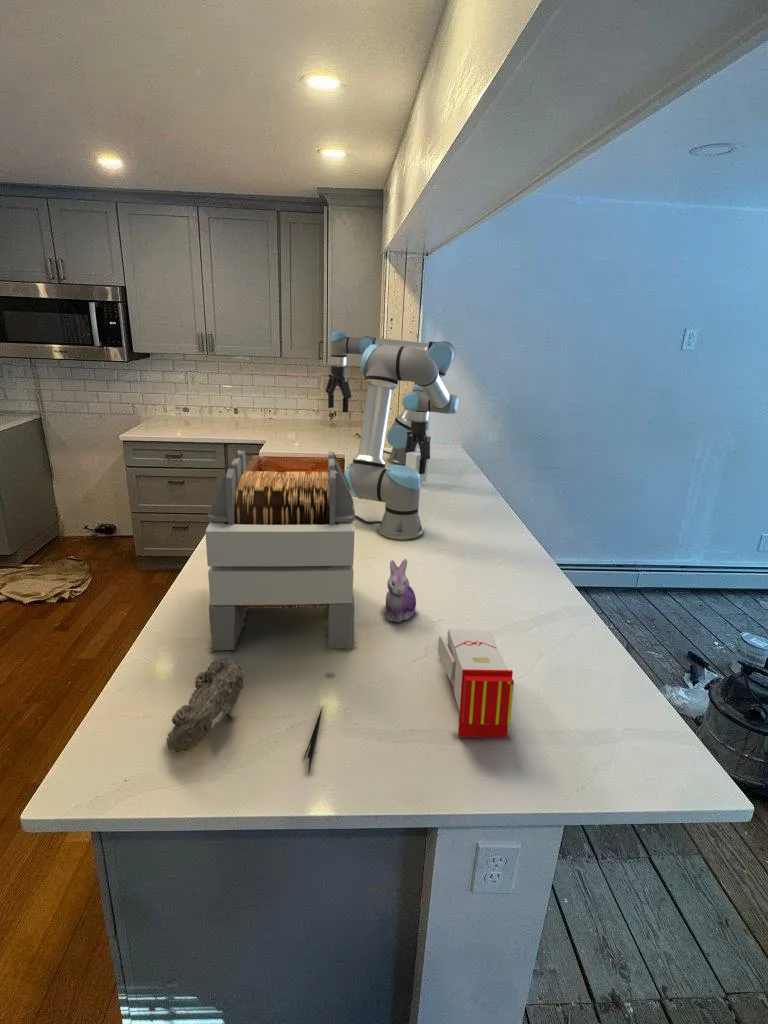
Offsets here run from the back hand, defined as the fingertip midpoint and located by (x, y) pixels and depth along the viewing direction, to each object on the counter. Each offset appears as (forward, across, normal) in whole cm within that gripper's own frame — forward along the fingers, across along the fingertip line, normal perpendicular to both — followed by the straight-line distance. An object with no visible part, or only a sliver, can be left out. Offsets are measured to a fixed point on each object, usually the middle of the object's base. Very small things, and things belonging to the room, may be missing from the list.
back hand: (337, 410), depth 280 cm
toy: (+26, -172, +72) cm, 188 cm away
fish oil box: (+24, -51, -10) cm, 57 cm away
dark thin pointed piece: (+26, -163, +102) cm, 194 cm away
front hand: (+20, -51, -10) cm, 56 cm away
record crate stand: (+26, -124, +90) cm, 155 cm away
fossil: (+26, -151, +119) cm, 194 cm away
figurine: (+26, -139, +65) cm, 156 cm away
